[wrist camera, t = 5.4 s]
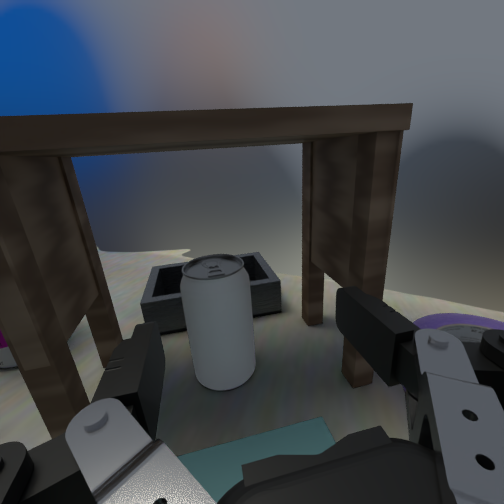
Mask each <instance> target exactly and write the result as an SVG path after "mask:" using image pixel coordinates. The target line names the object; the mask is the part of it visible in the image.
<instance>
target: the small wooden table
mask: <svg viewBox="0 0 504 504" xmlns="http://www.w3.org/2000/svg"><path fill="white" fill-rule="evenodd" d="M412 106H413V103H405V104H375V105H374V104H373V105H343V106H309V107H278V108H247V109H217V110H216V109H215V110H184V111H155V112H154V111H153V112H122V113H89V114H61V115H60V114H58V115H29V116H0V330H1V332H2V334H3V337H4V339H5V341H6V343H7V345H8V347H9V349H10V351H11V353H12V356H13V358H14V360H15V362H16V364H17V366H18V368H19V370H20V372H21V374H22V377H23V379H24V381H25V383H26V385H27V387H28V389H29V391H30V393H31V395H32V398H33V400H34V402H35V404H36V406H37V408H38V410H39V412H40V414H41V417H42V419H43V421H44V423H45V425H46V427H47V429H48V431H49V433H50V435H51V438H52V439H54V438H56V437H57V436H59V435H61V434H63V433H64V432H66V429H67V427H68V425H69V423H70V422H71V420H72V419H73V418H74V417H75V416H76V415H77V414H78V413H79V412H80V411H81V410H82V409H84V408H85V407H86V406H88V405H90V402H89V400H88V397H87V394H86V392H85V389H84V387H83V384H82V381H81V379H80V376H79V373H78V371H77V368H76V365H75V363H74V360H73V357H72V355H71V352H70V349H69V347H68V344H67V341H68V339H69V338H70V336H71V335H72V333H73V332H74V330H75V329H76V327H77V326H78V324H79V323H80V321H81V320H82V318H83V317H84V315H85V314H86V317H87V320H88V323H89V326H90V329H91V332H92V335H93V338H94V341H95V344H96V347H97V350H98V353H99V356H100V359H101V362H102V365H103V368H104V367H106V366H107V364H108V362H109V359H110V357H111V355H112V352H113V350H114V349H115V348H116V347H117V346H118V345H119V344H120V343H121V342H122V341H123V339H122V335H121V332H120V328H119V325H118V321H117V318H116V314H115V311H114V307H113V304H112V300H111V296H110V293H109V289H108V286H107V282H106V279H105V275H104V272H103V268H102V265H101V261H100V258H99V254H98V251H97V247H96V244H95V240H94V237H93V233H92V230H91V226H90V223H89V219H88V216H87V213H86V209H85V205H84V202H83V198H82V195H81V191H80V188H79V185H78V181H77V178H76V174H75V170H74V167H73V164H72V160H71V157H80V156H98V155H114V154H131V153H147V152H162V151H163V152H164V151H180V150H197V149H213V148H231V147H247V146H264V145H280V144H296V143H303V155H302V158H303V159H302V160H303V161H302V165H303V167H302V168H303V170H302V172H303V173H302V176H303V177H302V194H303V195H302V318H303V320H304V321H305V322H306V324H307V325H308V326H311V325H316V324H321V323H322V321H323V292H324V273H326V274H327V275H328V276H329V277H331V278H332V279H333V280H334V281H335V282H337V283H338V284H339V285H340V286H341V287H349V286H356V287H358V288H359V289H360V290H362V291H363V292H364V293H366V294H369V295H371V296H374V297H376V298H379V299H380V300H382V299H383V291H384V283H385V275H386V267H387V259H388V251H389V243H390V235H391V227H392V219H393V211H394V203H395V195H396V186H397V179H398V171H399V163H400V154H401V147H402V139H403V131H404V130H409V129H410V121H411V114H412ZM373 371H374V369H373V368H372V367H371V366H370V365H369V364H368V363H367V361H366V360H365V359H364V358H363V357H362V356H361V355H360V353H359V352H358V351H357V350H356V349H355V348H354V347H353V345H352V344H351V343H350V342H349V341H348V340H347V339H346V337H345V336H344V346H343V360H342V373H343V375H344V376H345V378H346V379H347V380H348V382H349V383H350V385H351V386H352V387H353V388H356V387H360V386H363V385H367V384H371V383H372V379H373Z"/></svg>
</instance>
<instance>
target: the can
mask: <svg viewBox="0 0 504 504" xmlns="http://www.w3.org/2000/svg"><path fill="white" fill-rule="evenodd" d="M243 266H244V262H243V260H242V259H241V258H240V257H237V256H234V255H229V254H213V255H207V256H202V257H199V258H196V259H193V260H191V261H189V262H187V263H186V264H185V265H184V266H183V267H182V273H183V277H182V280H181V283H180V291H181V298H182V304H183V309H184V315H185V321H186V326H187V332H188V338H189V343H190V349H191V354H192V360H193V365H194V370H195V374H196V377H197V379H198V381H199V382H200V383H201V384H202V385H203V386H205V387H207V388H209V389H212V390H216V391H227V390H231V389H234V388H237V387H239V386H241V385H242V384H244V383H245V382H246V381H247V380H248V379H249V378H250V377H251V376H252V374H253V372H254V370H255V365H256V359H255V343H254V329H253V316H252V303H251V290H250V280H249V275H248V273H247V271H246V270H245V268H244V267H243Z"/></svg>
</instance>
